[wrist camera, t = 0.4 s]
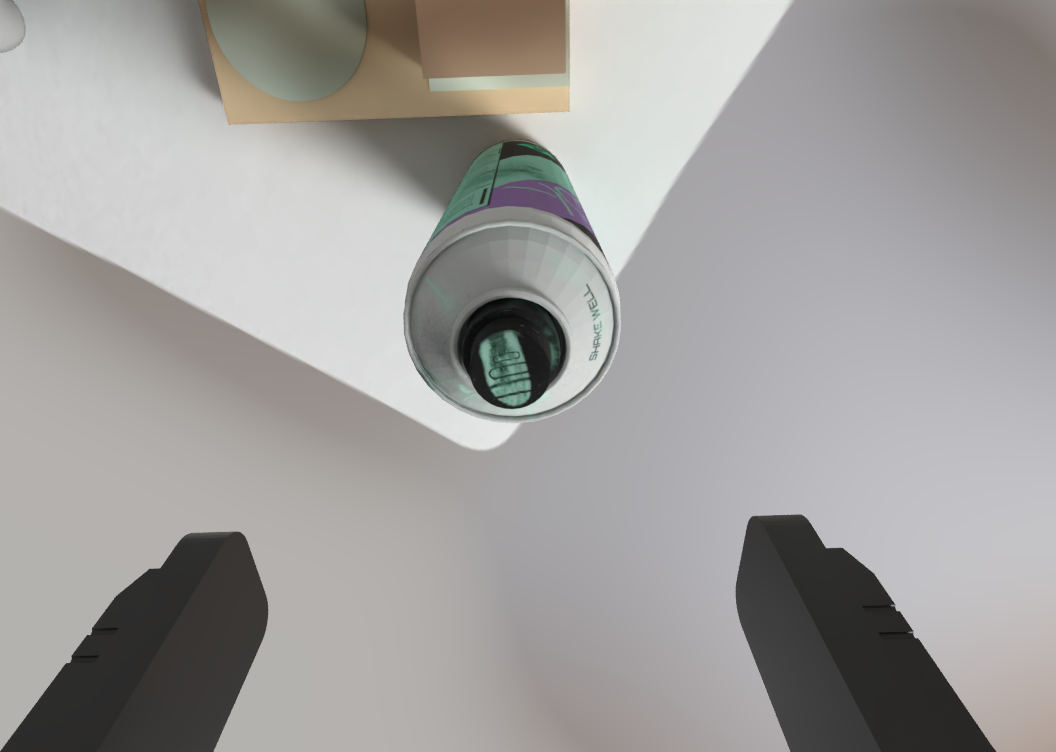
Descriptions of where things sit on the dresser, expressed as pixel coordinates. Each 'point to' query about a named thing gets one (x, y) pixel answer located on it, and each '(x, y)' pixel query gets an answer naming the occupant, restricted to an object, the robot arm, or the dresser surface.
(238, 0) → the oak board
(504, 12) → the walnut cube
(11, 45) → the round bodied animal figurine
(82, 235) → the dresser surface
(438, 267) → the spray can
